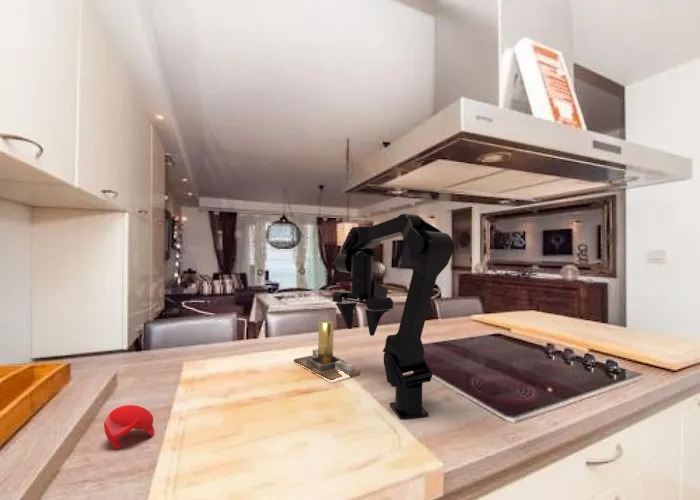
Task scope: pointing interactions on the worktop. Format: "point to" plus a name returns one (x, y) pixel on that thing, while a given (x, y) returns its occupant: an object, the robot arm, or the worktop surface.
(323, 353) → the olive gold cylinder
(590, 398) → the worktop surface
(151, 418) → the red curved piece
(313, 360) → the shaft rig
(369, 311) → the robot arm
